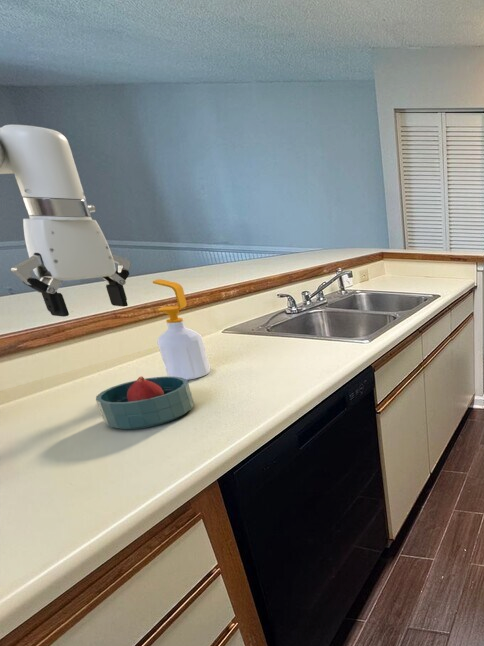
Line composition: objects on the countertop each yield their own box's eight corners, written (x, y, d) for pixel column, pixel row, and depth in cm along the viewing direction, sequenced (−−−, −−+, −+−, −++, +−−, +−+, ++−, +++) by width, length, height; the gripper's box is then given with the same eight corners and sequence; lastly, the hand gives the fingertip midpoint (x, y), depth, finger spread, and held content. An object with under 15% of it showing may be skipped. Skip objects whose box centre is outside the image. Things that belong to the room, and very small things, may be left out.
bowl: (87, 426, 84) (75, 399, 82) (159, 398, 97) (151, 373, 95) (144, 435, 81) (135, 407, 79) (211, 405, 94) (204, 380, 92)
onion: (127, 419, 85) (114, 382, 82) (142, 407, 91) (130, 372, 88) (160, 416, 87) (149, 380, 84) (173, 404, 92) (162, 370, 89)
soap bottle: (176, 370, 114) (149, 277, 104) (215, 367, 116) (191, 277, 107) (162, 382, 106) (131, 283, 96) (204, 379, 108) (177, 282, 99)
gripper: (98, 211, 80) (125, 301, 86) (-28, 208, 64) (16, 318, 71) (130, 212, 79) (154, 304, 85) (8, 209, 63) (50, 322, 69)
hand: (91, 310), depth 78 cm, fingers open, 9 cm apart
